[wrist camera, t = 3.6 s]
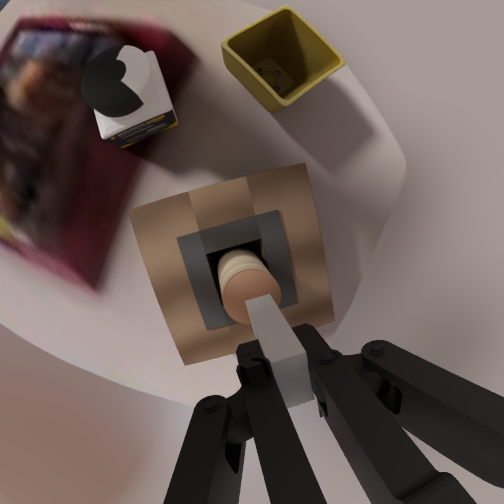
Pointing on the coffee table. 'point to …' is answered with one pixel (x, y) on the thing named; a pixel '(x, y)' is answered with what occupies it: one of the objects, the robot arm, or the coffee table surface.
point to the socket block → (228, 235)
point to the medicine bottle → (127, 95)
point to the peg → (244, 281)
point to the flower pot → (279, 58)
